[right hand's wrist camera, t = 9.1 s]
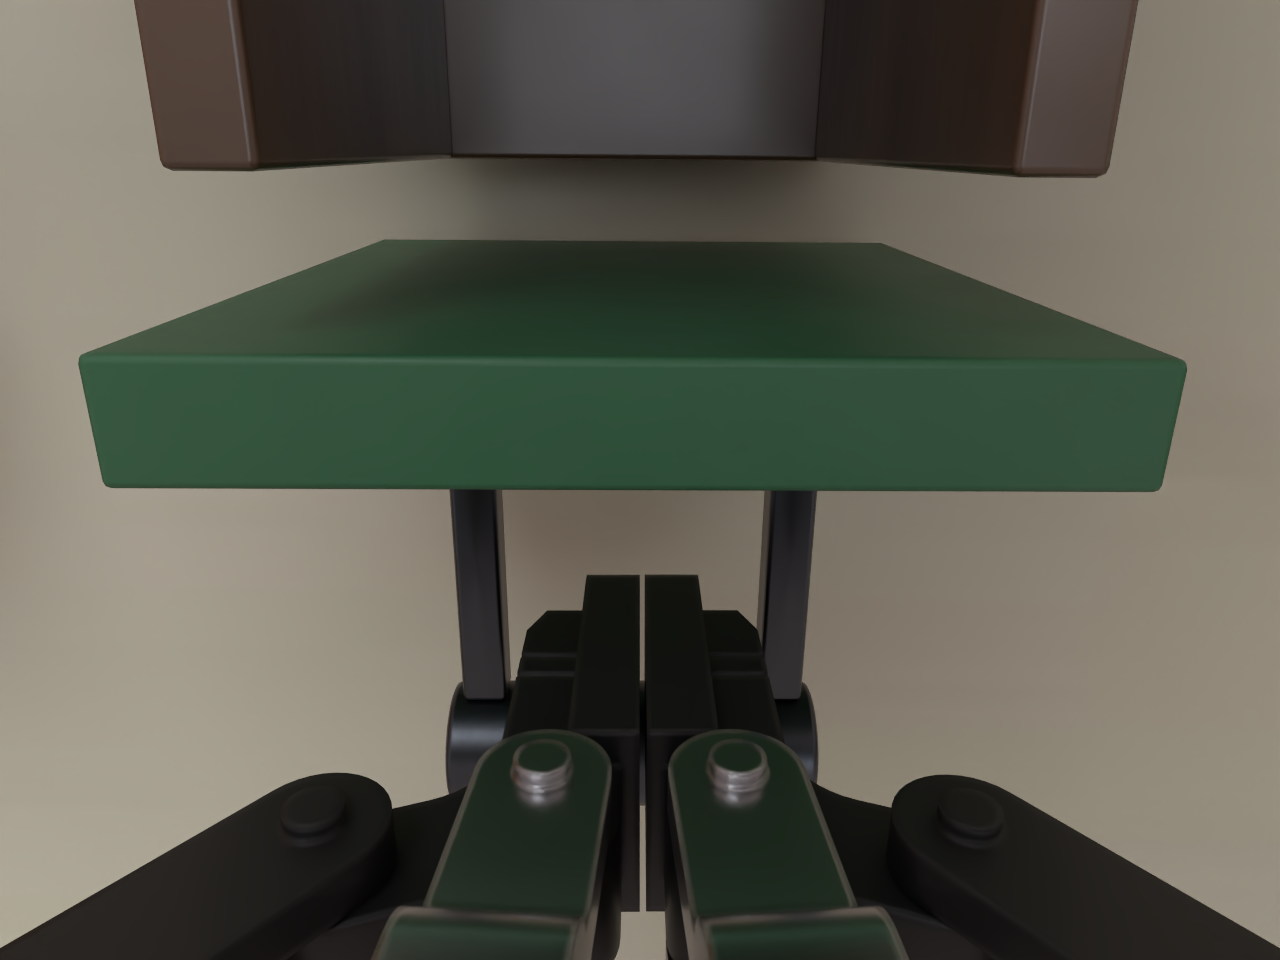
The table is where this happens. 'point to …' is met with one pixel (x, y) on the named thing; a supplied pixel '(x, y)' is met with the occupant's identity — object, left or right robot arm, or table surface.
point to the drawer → (633, 281)
